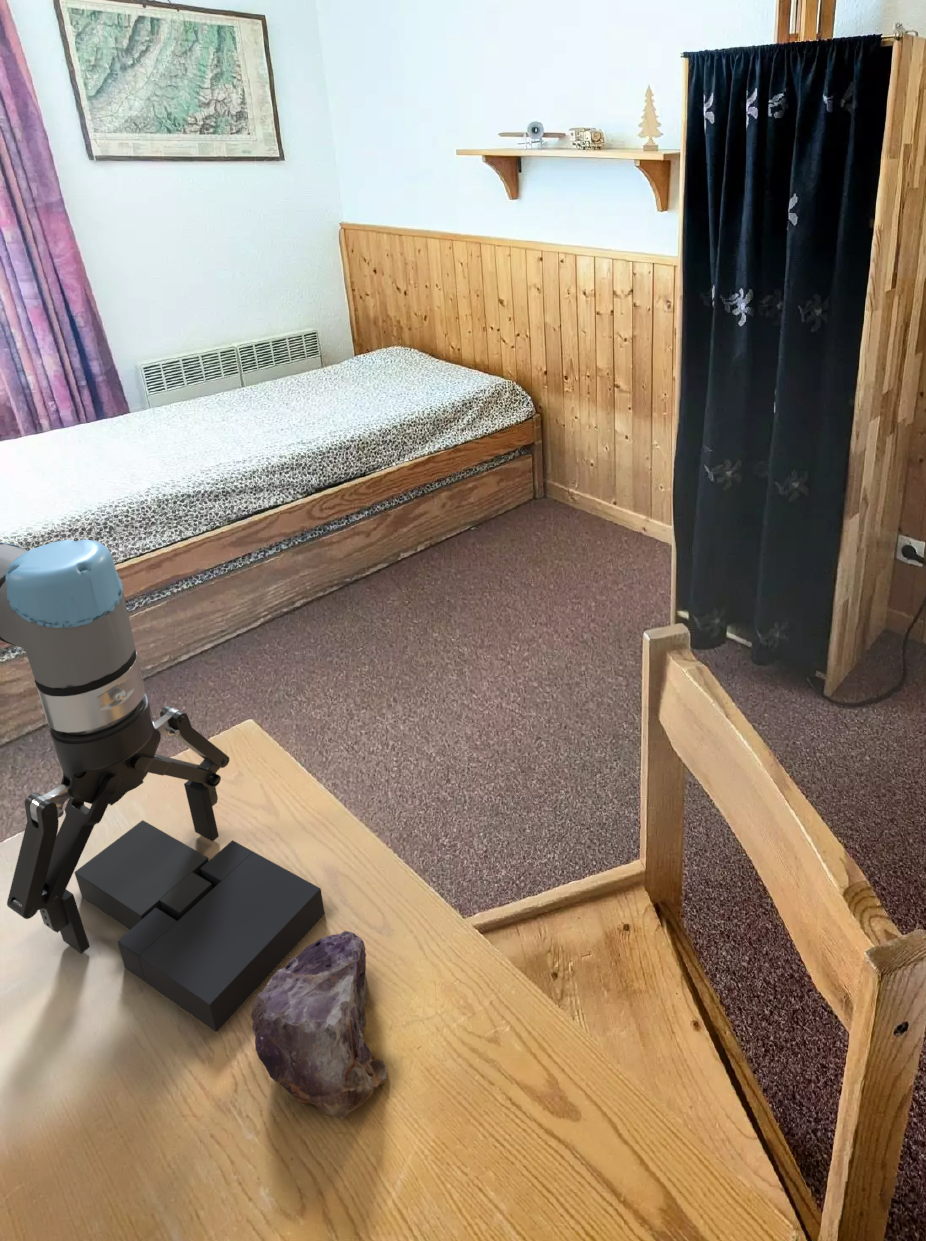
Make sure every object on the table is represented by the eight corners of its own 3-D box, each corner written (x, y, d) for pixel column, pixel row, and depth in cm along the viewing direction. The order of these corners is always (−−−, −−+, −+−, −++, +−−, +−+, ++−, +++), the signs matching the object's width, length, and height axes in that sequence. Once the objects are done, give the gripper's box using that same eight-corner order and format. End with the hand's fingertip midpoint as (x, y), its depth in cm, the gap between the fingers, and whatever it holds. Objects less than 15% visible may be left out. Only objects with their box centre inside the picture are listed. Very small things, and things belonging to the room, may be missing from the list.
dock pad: (126, 973, 71) (116, 941, 70) (238, 869, 81) (232, 840, 80) (217, 1038, 66) (209, 1005, 64) (325, 919, 76) (320, 888, 74)
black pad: (83, 902, 77) (73, 872, 76) (150, 848, 83) (142, 819, 82) (169, 960, 72) (160, 929, 71) (234, 899, 78) (228, 868, 76)
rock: (386, 989, 71) (266, 1019, 68) (380, 906, 69) (255, 934, 66) (389, 1120, 60) (245, 1163, 57) (381, 1026, 58) (232, 1065, 55)
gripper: (-37, 826, 58) (34, 1021, 66) (245, 645, 79) (275, 808, 87) (-90, 790, 62) (-16, 980, 69) (195, 625, 82) (228, 785, 90)
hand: (146, 885), depth 78 cm, fingers open, 13 cm apart
